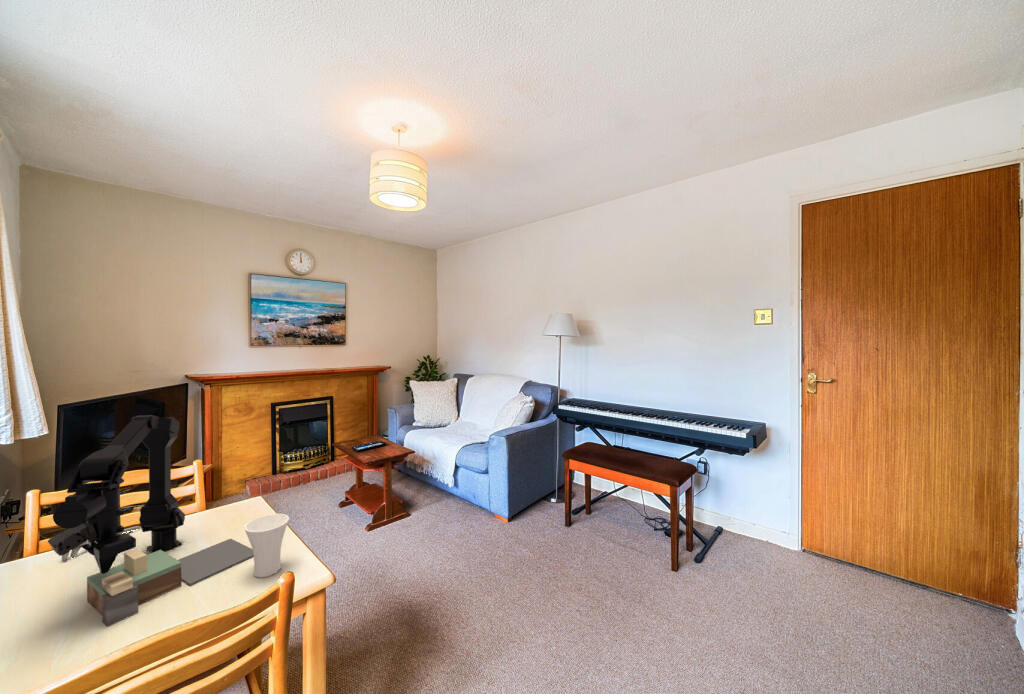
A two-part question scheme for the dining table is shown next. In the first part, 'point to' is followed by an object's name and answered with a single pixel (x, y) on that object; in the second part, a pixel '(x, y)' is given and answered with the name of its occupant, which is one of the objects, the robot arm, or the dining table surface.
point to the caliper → (75, 550)
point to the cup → (266, 542)
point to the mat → (213, 561)
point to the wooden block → (117, 583)
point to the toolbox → (131, 597)
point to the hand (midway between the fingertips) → (104, 572)
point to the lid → (138, 568)
